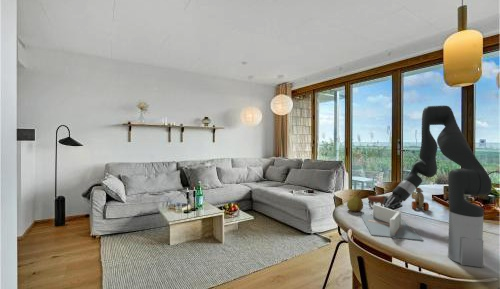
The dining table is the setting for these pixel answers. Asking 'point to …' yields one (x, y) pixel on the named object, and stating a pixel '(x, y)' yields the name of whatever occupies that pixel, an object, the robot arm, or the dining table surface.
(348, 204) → the fruit
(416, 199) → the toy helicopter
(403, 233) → the card
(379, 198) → the bull figurine
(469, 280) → the dining table surface
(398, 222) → the fence fixed
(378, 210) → the fence gate
